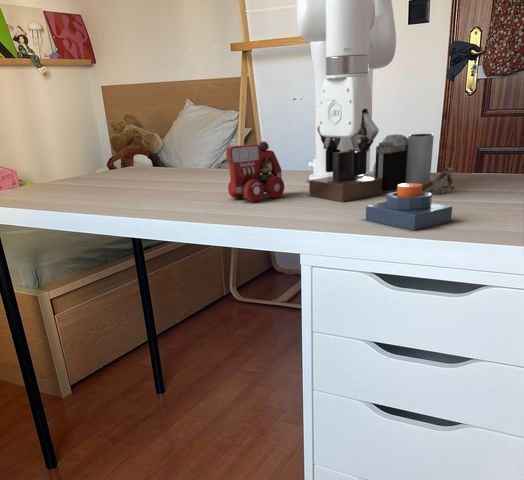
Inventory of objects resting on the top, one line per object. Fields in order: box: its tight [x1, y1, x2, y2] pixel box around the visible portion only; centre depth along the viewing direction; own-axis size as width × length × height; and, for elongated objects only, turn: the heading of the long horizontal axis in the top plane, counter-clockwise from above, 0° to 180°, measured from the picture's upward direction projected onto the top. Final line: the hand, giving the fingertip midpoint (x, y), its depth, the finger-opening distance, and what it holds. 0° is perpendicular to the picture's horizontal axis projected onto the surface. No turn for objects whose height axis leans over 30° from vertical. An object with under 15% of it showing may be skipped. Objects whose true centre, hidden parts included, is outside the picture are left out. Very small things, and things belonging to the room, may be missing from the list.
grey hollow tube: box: [406, 133, 435, 192], centre depth 101 cm, size 4×4×10 cm
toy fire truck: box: [225, 141, 285, 203], centre depth 103 cm, size 7×12×10 cm, turn 128°
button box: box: [365, 190, 453, 231], centre depth 80 cm, size 10×8×4 cm
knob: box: [333, 149, 358, 181], centre depth 101 cm, size 5×2×5 cm, turn 123°
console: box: [308, 175, 383, 203], centre depth 103 cm, size 10×10×3 cm
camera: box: [372, 133, 408, 193], centre depth 108 cm, size 15×7×10 cm, turn 131°
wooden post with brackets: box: [422, 167, 456, 194], centre depth 99 cm, size 2×8×4 cm, turn 106°
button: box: [396, 183, 422, 197], centre depth 79 cm, size 4×4×2 cm
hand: (345, 172), depth 102 cm, fingers open, 6 cm apart
